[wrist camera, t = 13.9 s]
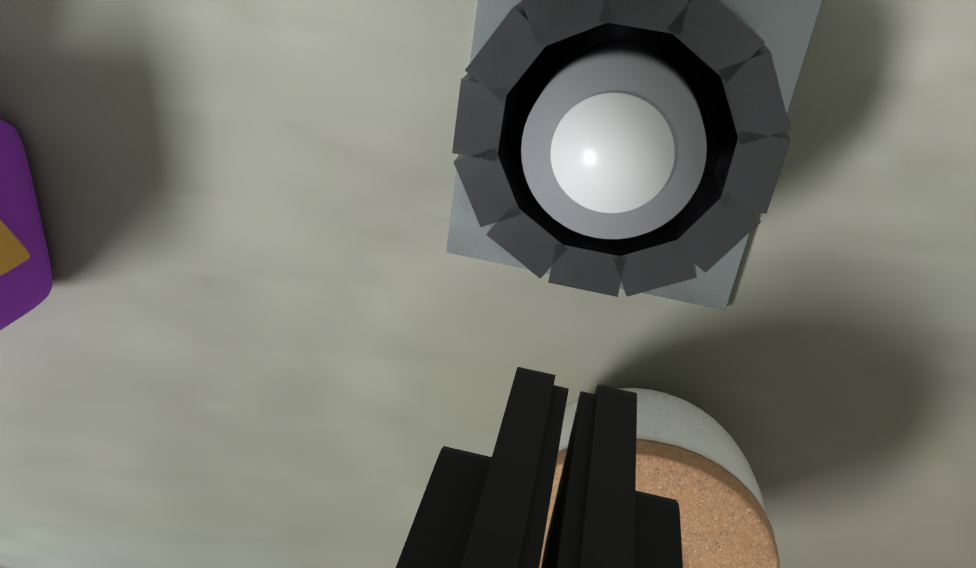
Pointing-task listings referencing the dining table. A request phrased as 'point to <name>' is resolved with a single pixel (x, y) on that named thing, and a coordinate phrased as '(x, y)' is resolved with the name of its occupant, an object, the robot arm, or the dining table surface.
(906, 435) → the dining table surface
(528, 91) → the lens barrel
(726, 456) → the lidded jar
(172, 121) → the dining table surface
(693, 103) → the grey rounded dome
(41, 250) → the toy camera
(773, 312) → the dining table surface
